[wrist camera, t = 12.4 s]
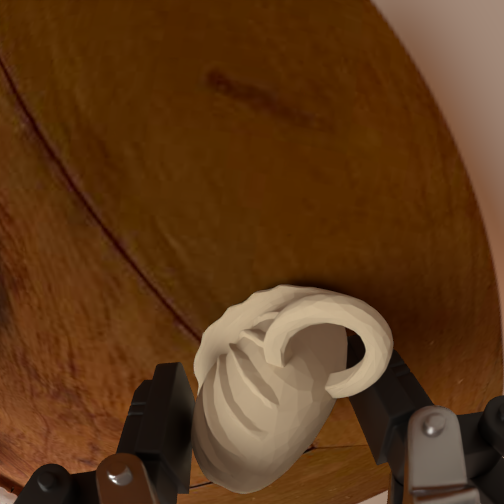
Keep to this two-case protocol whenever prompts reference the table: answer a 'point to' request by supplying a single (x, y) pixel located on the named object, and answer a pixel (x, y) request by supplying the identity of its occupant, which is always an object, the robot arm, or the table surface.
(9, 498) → the pincushion
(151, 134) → the table surface
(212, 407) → the cream ridged rounded piece
